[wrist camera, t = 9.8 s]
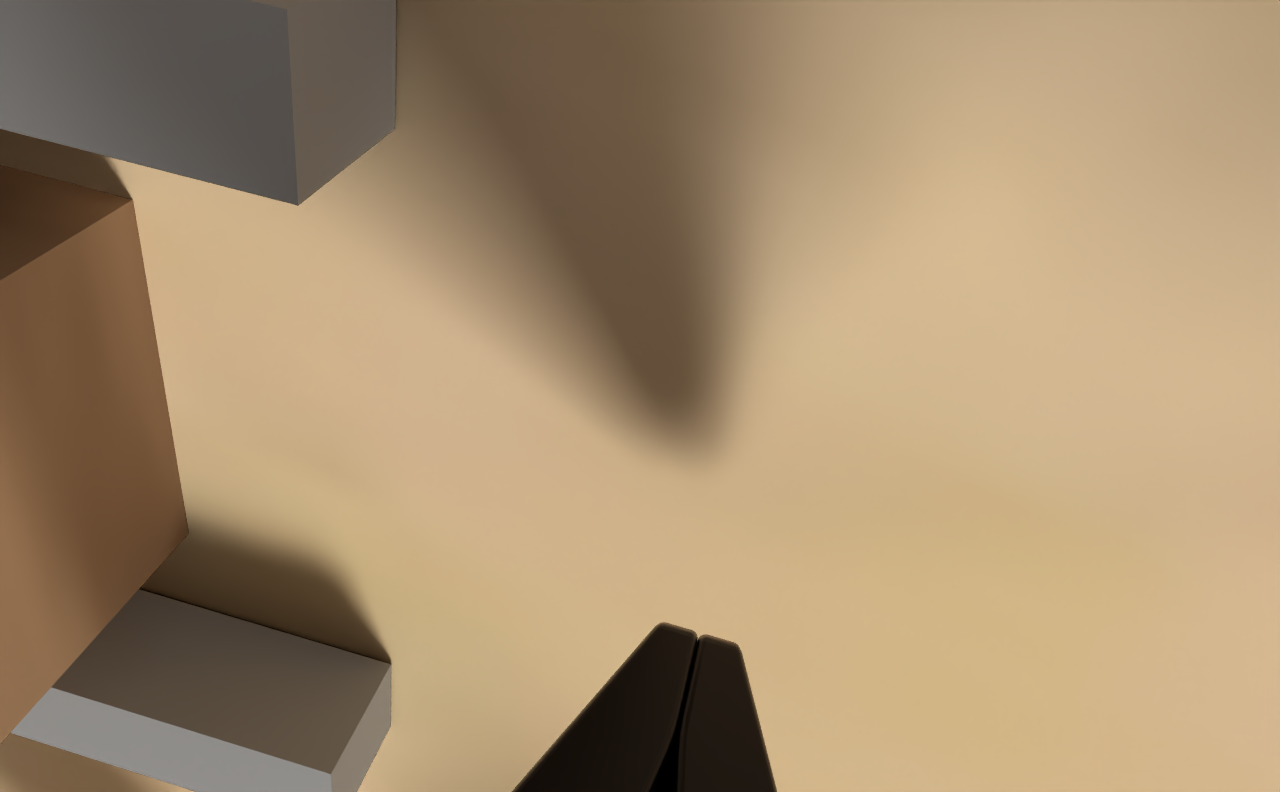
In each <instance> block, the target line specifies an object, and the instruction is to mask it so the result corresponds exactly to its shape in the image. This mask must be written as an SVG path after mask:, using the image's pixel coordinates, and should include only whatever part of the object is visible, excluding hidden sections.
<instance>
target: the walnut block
mask: <svg viewBox="0 0 1280 792" xmlns="http://www.w3.org/2000/svg"><path fill="white" fill-rule="evenodd" d="M188 533H189V531H188V525H187V519H186V513H185V507H184V502H183V496H182V490H181V484H180V478H179V472H178V466H177V460H176V454H175V448H174V442H173V436H172V430H171V424H170V418H169V412H168V406H167V400H166V394H165V388H164V382H163V376H162V370H161V364H160V359H159V353H158V347H157V341H156V335H155V329H154V323H153V317H152V311H151V305H150V299H149V293H148V287H147V281H146V275H145V269H144V263H143V257H142V251H141V245H140V239H139V233H138V227H137V221H136V216H135V210H134V204H133V200H132V199H128V198H124V197H120V196H117V195H113V194H109V193H105V192H101V191H97V190H94V189H90V188H86V187H82V186H78V185H74V184H71V183H67V182H63V181H59V180H55V179H51V178H48V177H44V176H40V175H36V174H32V173H28V172H25V171H21V170H17V169H13V168H9V167H5V166H2V165H0V744H1V743H2V742H3V740H4V739H5V738H6V737H7V736H8V735H9V734H10V733H11V732H12V730H13V729H14V728H15V727H16V726H17V725H18V724H19V723H20V721H21V720H22V719H23V718H24V717H25V716H26V715H27V714H28V712H29V711H30V710H31V709H32V708H33V707H34V706H35V705H36V704H37V702H38V701H39V700H40V699H41V698H42V697H43V696H44V695H45V693H46V692H47V691H48V690H49V689H50V688H51V687H52V686H53V685H54V683H55V682H56V681H57V680H58V679H59V678H60V677H61V676H62V674H63V673H64V672H65V671H66V670H67V669H68V668H69V667H70V665H71V664H72V663H73V662H74V661H75V660H76V659H77V658H78V657H79V655H80V654H81V653H82V652H83V651H84V650H85V649H86V648H87V646H88V645H89V644H90V643H91V642H92V641H93V640H94V639H95V638H96V636H97V635H98V634H99V633H100V632H101V631H102V630H103V629H104V627H105V626H106V625H107V624H108V623H109V622H110V621H111V620H112V618H113V617H114V616H115V615H116V614H117V613H118V612H119V611H120V610H121V608H122V607H123V606H124V605H125V604H126V603H127V602H128V601H129V599H130V598H131V597H132V596H133V595H134V594H135V593H136V592H137V591H138V589H139V588H140V587H141V586H142V585H143V584H144V583H145V582H146V580H147V579H148V578H149V577H150V576H151V575H152V574H153V573H154V571H155V570H156V569H157V568H158V567H159V566H160V565H161V564H162V563H163V561H164V560H165V559H166V558H167V557H168V556H169V555H170V554H171V552H172V551H173V550H174V549H175V548H176V547H177V546H178V545H179V544H180V542H181V541H182V540H183V539H184V538H185V537H186V536H187V535H188Z"/></svg>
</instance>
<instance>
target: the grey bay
mask: <svg viewBox="0 0 1280 792" xmlns="http://www.w3.org/2000/svg"><path fill="white" fill-rule="evenodd" d="M395 95H396V0H0V129H3V130H7V131H10V132H14V133H18V134H22V135H26V136H30V137H34V138H38V139H42V140H46V141H49V142H53V143H57V144H61V145H65V146H69V147H73V148H77V149H81V150H84V151H88V152H92V153H96V154H100V155H104V156H108V157H112V158H116V159H119V160H123V161H127V162H131V163H135V164H139V165H143V166H147V167H151V168H155V169H158V170H162V171H166V172H170V173H174V174H178V175H182V176H186V177H190V178H193V179H197V180H201V181H205V182H209V183H213V184H217V185H221V186H225V187H228V188H232V189H236V190H240V191H244V192H248V193H252V194H256V195H260V196H264V197H267V198H271V199H275V200H279V201H283V202H287V203H291V204H295V205H299V204H301V203H302V202H303V201H305V200H306V199H307V198H308V197H310V196H311V195H312V194H313V193H315V192H316V191H317V190H318V189H320V188H321V187H322V186H323V185H325V184H326V183H327V182H329V181H330V180H331V179H332V178H334V177H335V176H336V175H337V174H339V173H340V172H341V171H342V170H344V169H345V168H346V167H348V166H349V165H350V164H351V163H353V162H354V161H355V160H356V159H358V158H359V157H360V156H361V155H363V154H364V153H365V152H366V151H368V150H369V149H370V148H372V147H373V146H374V145H375V144H377V143H378V142H379V141H380V140H382V139H383V138H384V137H385V136H387V135H388V134H389V133H391V132H392V131H393V130H394V129H395ZM390 727H391V664H388V663H385V662H381V661H378V660H375V659H371V658H368V657H365V656H361V655H358V654H355V653H351V652H348V651H344V650H341V649H338V648H334V647H331V646H328V645H324V644H321V643H318V642H314V641H311V640H308V639H304V638H301V637H298V636H294V635H291V634H288V633H284V632H281V631H277V630H274V629H271V628H267V627H264V626H261V625H257V624H254V623H251V622H247V621H244V620H241V619H237V618H234V617H231V616H227V615H224V614H221V613H217V612H214V611H210V610H207V609H204V608H200V607H197V606H194V605H190V604H187V603H184V602H180V601H177V600H174V599H170V598H167V597H164V596H160V595H157V594H154V593H150V592H147V591H143V590H140V589H138V591H137V592H136V593H135V594H134V595H133V596H132V597H131V598H130V599H129V601H128V602H127V603H126V604H125V605H124V606H123V607H122V608H121V610H120V611H119V612H118V613H117V614H116V615H115V616H114V617H113V618H112V620H111V621H110V622H109V623H108V624H107V625H106V626H105V627H104V629H103V630H102V631H101V632H100V633H99V634H98V635H97V636H96V638H95V639H94V640H93V641H92V642H91V643H90V644H89V645H88V646H87V648H86V649H85V650H84V651H83V652H82V653H81V654H80V655H79V657H78V658H77V659H76V660H75V661H74V662H73V663H72V664H71V665H70V667H69V668H68V669H67V670H66V671H65V672H64V673H63V674H62V676H61V677H60V678H59V679H58V680H57V681H56V682H55V683H54V685H53V686H52V687H51V688H50V689H49V690H48V691H47V692H46V693H45V695H44V696H43V697H42V698H41V699H40V700H39V701H38V702H37V704H36V705H35V706H34V707H33V708H32V709H31V710H30V711H29V712H28V714H27V715H26V716H25V717H24V718H23V719H22V720H21V721H20V723H19V724H18V725H17V726H16V727H15V728H14V729H13V730H12V732H11V733H12V734H15V735H18V736H21V737H25V738H28V739H31V740H34V741H37V742H40V743H44V744H47V745H50V746H53V747H56V748H59V749H62V750H66V751H69V752H72V753H75V754H78V755H81V756H85V757H88V758H91V759H94V760H97V761H100V762H104V763H107V764H110V765H113V766H116V767H119V768H123V769H126V770H129V771H132V772H135V773H138V774H141V775H145V776H148V777H151V778H154V779H157V780H160V781H164V782H167V783H170V784H173V785H176V786H179V787H183V788H186V789H189V790H192V791H195V792H357V791H358V789H359V787H360V785H361V783H362V781H363V779H364V777H365V775H366V773H367V771H368V769H369V767H370V765H371V763H372V762H373V760H374V758H375V756H376V754H377V752H378V750H379V748H380V746H381V744H382V742H383V740H384V738H385V736H386V734H387V732H388V730H389V729H390Z"/></svg>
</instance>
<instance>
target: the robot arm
mask: <svg viewBox="0 0 1280 792" xmlns="http://www.w3.org/2000/svg"><path fill="white" fill-rule="evenodd" d="M697 639H698V637H697V634H696V633H695V632H694V631H692V630H690V629H686V628H683V627H679V626H676V625H672V624H669V623H664V622H663V623H660V624H658V625H657V626H655V627H654V628H653V630H652V631H651V632H650V633H649V634H648V635H647V637H646V638H645V639H644V640H643V641H642V642H641V643H640V645H639V646H638V647H637V648H636V649H635V650H634V652H633V653H632V654H631V655H630V656H629V657H628V658H627V660H626V661H625V662H624V663H623V664H622V665H621V666H620V668H619V669H618V670H617V671H616V672H615V673H614V675H613V676H612V677H611V678H610V679H609V680H608V681H607V683H606V684H605V685H604V686H603V687H602V688H601V690H600V691H599V692H598V693H597V694H596V695H595V696H594V698H593V699H592V700H591V701H590V702H589V703H588V704H587V706H586V707H585V708H584V709H583V710H582V711H581V713H580V714H579V715H578V716H577V717H576V718H575V719H574V721H573V722H572V723H571V724H570V725H569V726H568V728H567V729H566V730H565V731H564V732H563V733H562V734H561V736H560V737H559V738H558V739H557V740H556V741H555V742H554V744H553V745H552V746H551V747H550V748H549V749H548V751H547V752H546V753H545V754H544V755H543V756H542V757H541V759H540V760H539V761H538V762H537V763H536V764H535V766H534V767H533V768H532V769H531V770H530V771H529V772H528V774H527V775H526V776H525V777H524V778H523V779H522V780H521V782H520V783H519V784H518V785H517V786H516V787H515V789H514V790H513V791H512V792H777V789H776V785H775V781H774V777H773V773H772V769H771V766H770V762H769V758H768V754H767V750H766V746H765V742H764V738H763V734H762V730H761V726H760V722H759V718H758V714H757V710H756V706H755V702H754V699H753V695H752V691H751V687H750V683H749V679H748V675H747V671H746V667H745V663H744V659H743V655H742V652H741V650H740V647H739V646H738V645H737V644H736V643H734V642H731V641H727V640H724V639H720V638H717V637H714V636H710V635H702V636H700V637H699V639H698V641H697Z"/></svg>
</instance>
